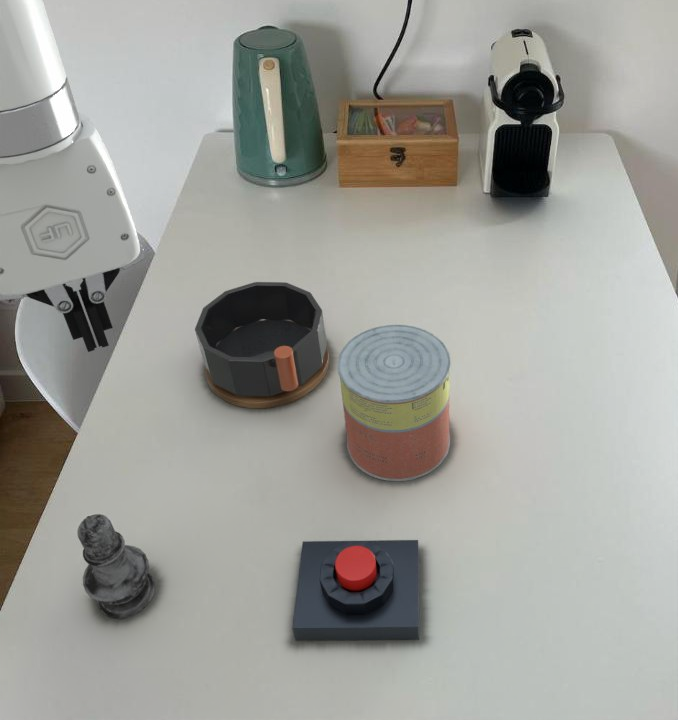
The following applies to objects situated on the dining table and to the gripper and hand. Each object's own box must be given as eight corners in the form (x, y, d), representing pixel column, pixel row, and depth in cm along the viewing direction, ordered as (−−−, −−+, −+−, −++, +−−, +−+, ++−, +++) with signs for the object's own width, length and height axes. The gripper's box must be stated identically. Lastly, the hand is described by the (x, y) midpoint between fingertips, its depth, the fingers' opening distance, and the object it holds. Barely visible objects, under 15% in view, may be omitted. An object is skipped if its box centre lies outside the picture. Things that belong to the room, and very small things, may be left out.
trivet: (229, 426, 91) (228, 420, 91) (190, 349, 101) (188, 343, 101) (349, 379, 96) (349, 373, 96) (301, 310, 106) (300, 305, 106)
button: (335, 591, 71) (333, 580, 70) (338, 556, 74) (336, 545, 73) (376, 591, 71) (374, 580, 70) (377, 556, 74) (376, 545, 73)
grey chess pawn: (170, 575, 77) (137, 498, 69) (135, 629, 73) (96, 554, 65) (118, 559, 79) (80, 481, 71) (81, 611, 75) (36, 534, 67)
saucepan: (354, 391, 93) (348, 336, 88) (235, 434, 89) (220, 379, 83) (301, 307, 105) (293, 253, 99) (193, 342, 101) (178, 288, 95)
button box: (295, 641, 72) (289, 617, 69) (305, 554, 79) (300, 530, 76) (419, 639, 72) (418, 616, 69) (418, 553, 78) (417, 528, 76)
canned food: (471, 447, 88) (473, 367, 80) (386, 499, 83) (380, 419, 75) (409, 390, 95) (405, 310, 87) (327, 434, 90) (316, 355, 82)
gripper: (-117, 171, 46) (-1, 401, 58) (146, 112, 51) (202, 336, 63) (-120, 119, 51) (-13, 341, 63) (120, 70, 56) (176, 285, 68)
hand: (94, 338), depth 63 cm, fingers closed
